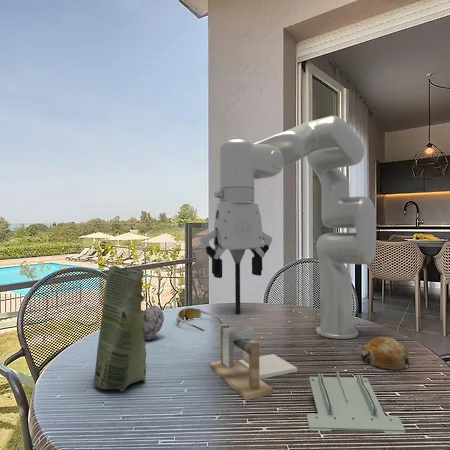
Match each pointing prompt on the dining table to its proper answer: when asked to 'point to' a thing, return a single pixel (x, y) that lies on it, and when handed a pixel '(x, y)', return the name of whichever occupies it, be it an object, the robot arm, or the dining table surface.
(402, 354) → the bread roll
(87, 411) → the dining table surface
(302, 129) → the robot arm
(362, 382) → the metal bracket
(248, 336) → the notched grey block
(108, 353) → the pouch
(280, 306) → the dining table surface
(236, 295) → the solar garden light
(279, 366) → the square tile
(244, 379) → the rail stand
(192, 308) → the sunglasses
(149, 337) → the pumice stone
